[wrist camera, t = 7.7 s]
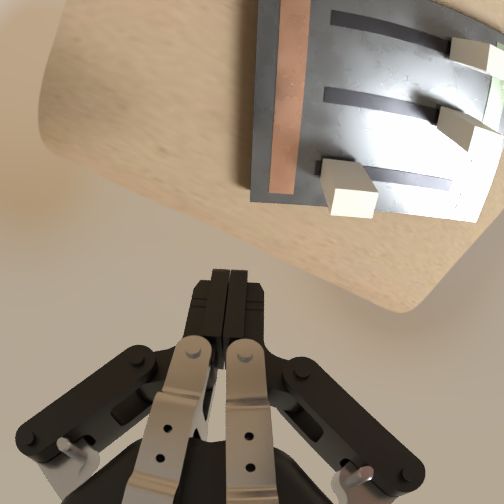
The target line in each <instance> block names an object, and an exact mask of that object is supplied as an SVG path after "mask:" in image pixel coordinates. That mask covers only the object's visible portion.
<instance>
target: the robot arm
mask: <svg viewBox="0 0 504 504" xmlns="http://www.w3.org/2000/svg"><path fill="white" fill-rule="evenodd" d="M247 278H248V271H246V270H231V274H230V270H226V269H213V271H212V277H211V281H209V280H200V281H199V283H198V284H197V285H196V286H195V288H194V290H193V295H192V300H191V303H190V308H189V312H188V317H187V321H186V326H185V331H184V335H183V338H182V339H181V340H180V341H179V342H178V343H177V345H176V346H174V347H172V348H170V349H167V350H161V351H156V352H153V351H152V350H151V349H150V348H148V347H146V346H143V345H134V346H132V347H129V348H127V349H126V350H125V351H124V352H122V353H120V354H119V355H118V356H116V357H115V358H114V359H112V360H111V361H109V362H108V363H107V364H105V365H104V366H103V367H101V368H100V369H98V370H97V371H96V372H94V373H93V374H92V375H90V376H89V377H87V378H86V379H85V380H84V381H82V382H81V383H79V384H78V385H76V386H75V387H74V388H72V389H71V390H70V391H68V392H67V393H66V394H64V395H63V396H61V397H60V398H58V399H57V400H56V401H54V402H53V403H51V404H50V405H49V406H47V407H46V408H45V409H43V410H42V411H41V412H39V413H38V414H36V415H35V416H33V417H32V418H31V419H29V420H28V421H27V422H25V423H24V424H22V425H21V426H20V427H19V428H18V430H17V432H16V437H15V439H16V445H17V447H18V449H19V450H20V452H22V453H23V454H24V455H26V456H28V457H29V458H31V459H32V460H34V461H35V462H36V463H37V464H38V465H39V467H40V468H41V470H42V471H43V473H44V475H45V476H46V478H47V479H48V481H49V482H50V484H51V485H52V487H53V488H54V490H55V491H56V493H57V494H58V496H59V497H60V498H61V500H62V503H61V504H333V503H332V502H331V501H330V500H329V499H328V498H327V497H326V495H325V494H324V493H323V492H322V491H321V490H320V489H319V488H318V487H317V486H316V484H315V483H314V482H313V481H312V480H311V479H310V478H309V477H308V475H307V474H306V473H305V472H304V471H303V470H302V469H301V468H300V467H299V465H298V464H297V463H296V462H295V461H294V460H293V459H292V458H291V457H290V456H289V455H287V454H286V453H285V452H283V451H281V450H279V449H277V448H275V447H273V436H272V423H271V411H270V406H273V407H276V408H277V410H278V411H279V412H280V413H281V414H282V416H283V417H285V419H286V420H287V421H288V422H289V423H290V424H291V425H292V427H293V428H294V429H295V430H296V431H297V432H298V433H299V434H300V435H301V436H302V437H303V438H304V439H305V440H306V441H307V443H308V444H309V445H310V446H311V447H312V448H313V449H314V450H315V451H316V452H317V453H318V454H319V455H320V456H321V457H322V458H323V459H324V460H325V461H326V462H327V463H328V464H329V465H330V466H331V467H332V468H333V469H334V470H335V471H336V473H335V474H334V476H333V478H332V481H331V486H332V489H333V491H334V493H335V494H336V495H337V498H338V500H339V504H391V503H392V502H393V501H394V500H395V499H396V498H397V497H399V496H401V495H404V494H407V493H409V492H412V491H414V490H416V489H417V488H418V487H420V486H421V484H422V483H423V481H424V478H425V467H424V465H423V463H422V462H421V461H420V460H419V459H418V458H417V457H416V456H415V455H414V454H413V453H412V452H410V451H409V450H408V449H407V448H406V447H405V446H404V445H402V443H400V442H399V441H398V440H397V439H396V438H395V437H394V436H393V435H392V434H391V433H390V432H388V431H387V430H386V429H385V428H384V427H383V426H382V425H381V424H380V423H379V422H378V421H377V420H376V419H375V418H373V417H372V416H371V415H370V414H369V413H368V412H367V411H366V410H365V409H364V408H363V407H362V406H361V405H360V404H359V403H357V402H356V401H355V400H354V399H353V398H352V397H351V396H350V395H349V394H348V393H347V392H346V391H345V390H344V389H342V387H341V386H340V385H338V384H337V382H336V381H334V380H333V379H332V378H331V377H330V376H329V375H328V374H327V373H326V372H325V371H324V370H323V369H322V368H321V367H320V366H319V365H318V364H317V363H316V362H315V361H313V360H311V359H310V358H307V357H295V358H293V359H291V360H286V359H282V358H279V357H277V356H275V355H273V354H271V353H270V352H269V351H268V350H267V348H266V347H265V345H264V340H263V339H264V336H263V335H264V291H263V289H262V287H261V285H260V283H248V282H247ZM224 361H225V369H226V440H225V441H219V442H207V434H208V421H209V417H210V411H211V407H212V401H213V396H214V391H215V386H216V379H217V371H218V369H223V367H224ZM149 413H150V414H149ZM148 414H149V417H148V421H147V425H146V428H145V431H144V435H143V438H141V439H139V440H137V441H135V442H134V443H132V444H131V445H129V446H128V447H127V448H126V449H124V450H123V451H122V452H121V453H120V454H119V455H117V456H116V457H115V458H114V459H112V460H111V461H110V462H109V463H108V464H106V465H105V466H104V467H103V468H102V469H100V470H99V471H98V472H97V473H95V474H94V475H93V476H92V477H91V475H92V474H93V472H94V471H95V470H96V469H97V468H98V466H99V463H100V456H99V452H100V451H102V450H103V449H104V448H106V447H107V446H108V445H110V444H111V443H112V442H114V441H115V440H116V439H118V438H119V437H120V436H121V435H123V434H124V433H125V432H127V431H128V430H129V429H130V428H132V427H133V426H134V425H136V424H137V423H138V422H139V421H141V420H142V419H143V418H144V417H146V416H147V415H148Z"/></svg>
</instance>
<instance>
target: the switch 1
mask: <svg viewBox="0 0 504 504" xmlns="http://www.w3.org/2000/svg"><path fill="white" fill-rule="evenodd" d="M320 184H321V187H322V190H323V193H324V196H325V199H326V202H327V206H328V209H329V212H330V215H337V216H350V217H362V218H372V217H373V213H374V210H375V206H376V202H377V198H378V195H379V192H378V190H377V189H376V187H375V186H374V184H373V182H372V181H371V179H370V177H369V176H368V174H367V173H366V171H365V170H364V168H363V166H362V165H361V163H360V162H351V161H343V160H333V159H323V163H322V170H321V176H320Z"/></svg>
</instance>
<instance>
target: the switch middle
mask: <svg viewBox="0 0 504 504" xmlns="http://www.w3.org/2000/svg"><path fill="white" fill-rule="evenodd" d="M436 129H437V130H439V131H440V132H441V133H443V134H444V135H446V136H447V137H448V138H450V139H451V140H452V141H454V142H455V143H456V144H457V145H459V146H460V147H461V148H463V149H464V150H465V151H466V152H468V153H471V154H475V155H478V156H482V157H485V158H489V159H492V160H495V161H497V158H498V155H499V151H500V148H501V145H502V141H503V138H504V136H503V135H501V134H500V133H498V132H497V131H495V130H494V129H492V128H490V127H489V126H487V125H486V124H484V123H482V122H481V121H479V120H477V119H476V118H474V117H472V116H471V115H469V114H466V113H463V112H459V111H456V110H453V109H450V108H446V107H443V106H441V109H440V114H439V118H438V123H437V127H436Z"/></svg>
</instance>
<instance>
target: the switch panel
mask: <svg viewBox="0 0 504 504" xmlns="http://www.w3.org/2000/svg"><path fill="white" fill-rule="evenodd" d="M452 37H455V38H461V39H467V40H473V41H478V42H483V43H488V44H491V45H493V46H495V47H497V48H499V49H501V50H503V51H504V35H503V34H501V33H500V32H498V31H496V30H494V29H492V28H490V27H488V26H486V25H484V24H482V23H480V22H478V21H476V20H474V19H472V18H470V17H468V16H466V15H464V14H461V13H459V12H457V11H454V10H452V9H450V8H447V7H445V6H442V5H440V4H437V3H435V2H432V1H429V0H258V19H257V42H256V65H255V89H254V114H253V138H252V164H251V189H250V202H262V203H280V204H296V205H311V206H325V207H328V206H327V202H326V199H325V196H324V193H323V190H322V187H321V184H320V176H321V170H322V163H323V159H333V160H343V161H351V162H360V163H361V165H362V166H363V168H364V170H365V171H366V173H367V174H368V176H369V177H370V179H371V181H372V182H373V184H374V186H375V187H376V189H377V190H378V192H379V195H378V198H377V202H376V206H375V210H374V211H383V212H393V213H402V214H411V215H420V216H429V217H437V218H446V219H453V220H461V221H469V222H476V221H477V219H478V217H479V214H480V212H481V209H482V207H483V204H484V202H485V199H486V196H487V194H488V191H489V188H490V186H491V183H492V180H493V177H494V174H495V171H496V168H497V165H498V162H499V159H500V156H501V153H502V149H503V146H504V138H503V141H502V145H501V148H500V151H499V155H498V158H497V161H495V160H492V159H489V158H485V157H482V156H478V155H475V154H471V153H468V152H466V151H465V150H464V149H463V148H461V147H460V146H459V145H457V144H456V143H455V142H454V141H452V140H451V139H450V138H448V137H447V136H446V135H444V134H443V133H441V132H440V131H439V130H437V129H436V127H437V123H438V118H439V114H440V109H441V106H443V107H446V108H450V109H453V110H456V111H459V112H463V113H466V114H469V115H471V116H472V117H474V118H476V119H477V120H479V121H481V122H482V123H484V124H486V125H487V126H489V127H490V128H492V129H494V130H495V131H497V132H498V133H500V134H501V135H503V136H504V80H501V79H498V78H496V77H493V76H490V75H488V74H485V73H482V72H479V71H476V70H474V69H471V68H469V67H467V66H464V65H461V64H459V63H456V62H454V61H451V60H449V58H450V50H451V42H452Z"/></svg>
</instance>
